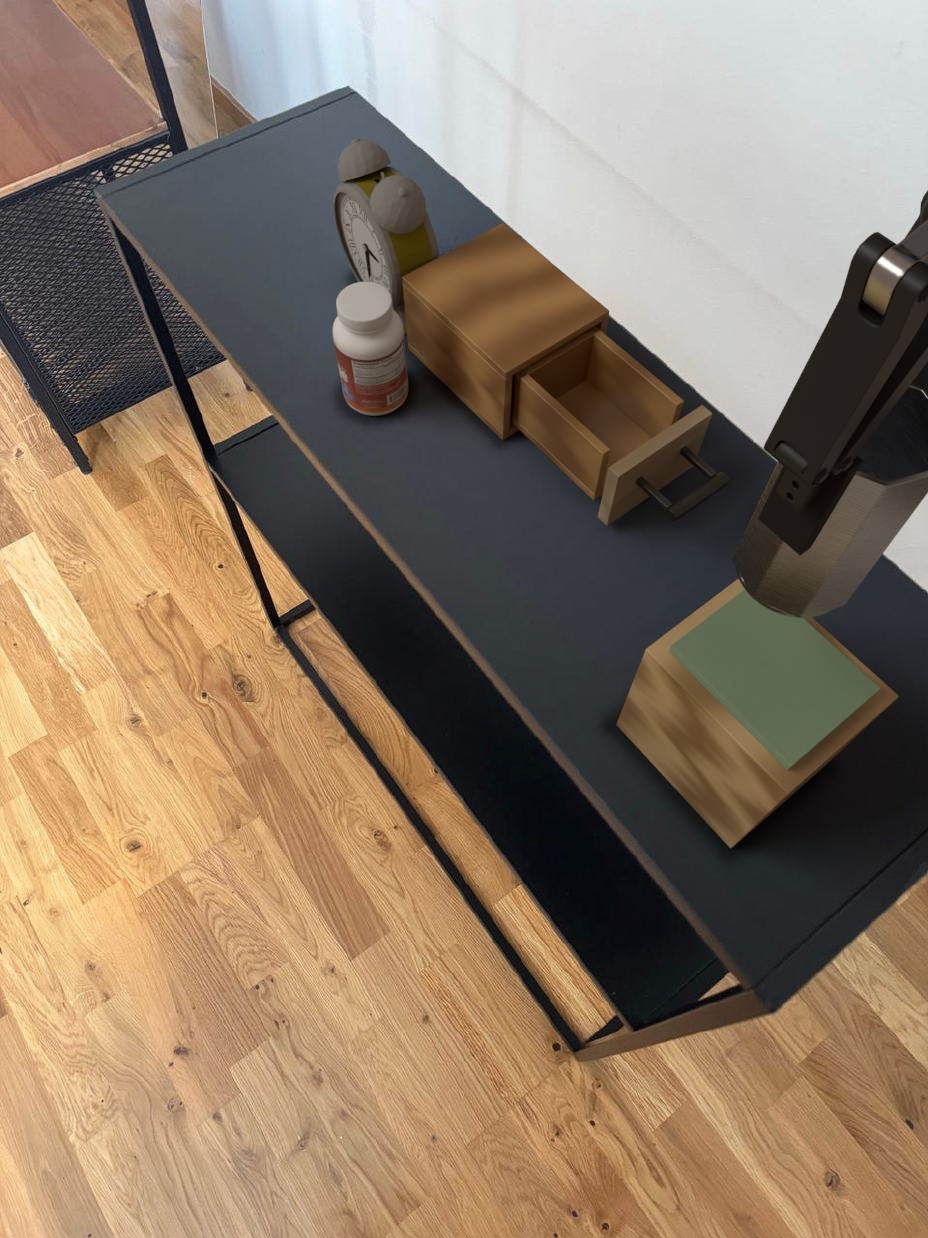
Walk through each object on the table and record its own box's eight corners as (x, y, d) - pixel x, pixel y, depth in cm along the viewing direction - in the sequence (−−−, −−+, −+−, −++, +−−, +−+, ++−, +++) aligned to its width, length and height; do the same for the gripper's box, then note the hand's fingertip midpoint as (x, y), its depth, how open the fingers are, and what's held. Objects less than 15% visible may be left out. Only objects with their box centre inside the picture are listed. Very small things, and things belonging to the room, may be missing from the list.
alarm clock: (341, 277, 91) (319, 137, 78) (398, 252, 92) (386, 111, 79) (399, 346, 86) (385, 211, 73) (458, 319, 88) (455, 182, 75)
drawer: (734, 500, 76) (756, 449, 70) (646, 564, 73) (661, 516, 67) (591, 375, 83) (601, 319, 77) (505, 429, 80) (508, 375, 74)
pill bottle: (346, 368, 85) (329, 274, 75) (410, 368, 85) (402, 274, 75) (341, 418, 82) (323, 326, 72) (407, 418, 82) (399, 326, 72)
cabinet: (597, 381, 84) (609, 310, 76) (502, 440, 80) (505, 372, 73) (500, 296, 89) (502, 222, 82) (407, 348, 86) (401, 276, 78)
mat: (876, 693, 54) (881, 688, 54) (787, 771, 52) (791, 766, 51) (755, 583, 58) (759, 577, 57) (668, 651, 56) (670, 645, 55)
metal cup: (865, 548, 50) (968, 401, 40) (831, 636, 47) (931, 504, 37) (757, 505, 52) (829, 352, 41) (718, 588, 49) (784, 447, 38)
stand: (825, 765, 66) (899, 696, 54) (730, 849, 63) (788, 794, 51) (708, 651, 70) (755, 565, 59) (615, 724, 67) (645, 648, 56)
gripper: (1223, -188, 28) (907, 357, 48) (783, 37, 22) (636, 547, 42) (1476, -97, 25) (1026, 442, 45) (1045, 190, 19) (752, 659, 39)
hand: (837, 492), depth 43 cm, fingers closed on metal cup, 7 cm apart
